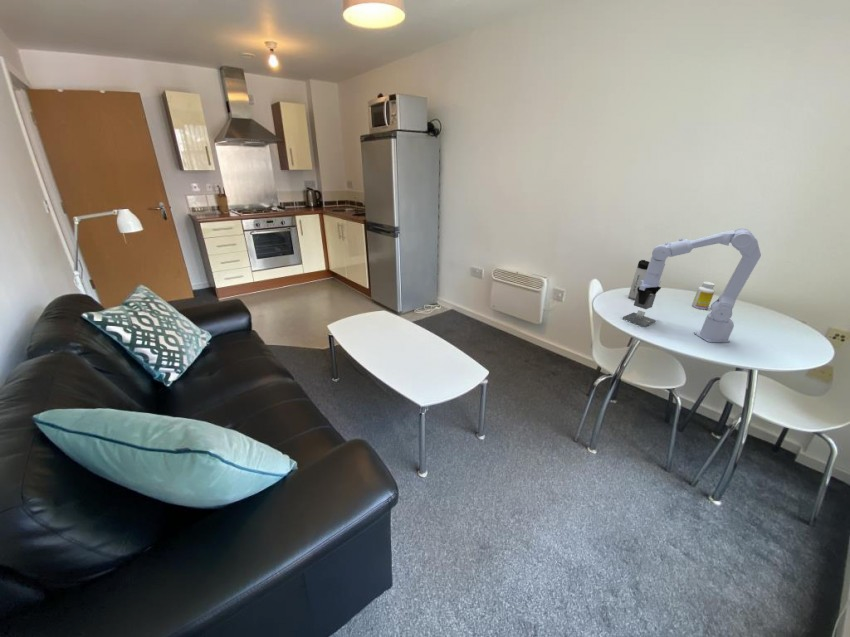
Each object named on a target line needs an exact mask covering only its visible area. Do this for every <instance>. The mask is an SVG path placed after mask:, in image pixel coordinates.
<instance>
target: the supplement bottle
mask: <svg viewBox="0 0 850 637" xmlns="http://www.w3.org/2000/svg"><path fill="white" fill-rule="evenodd" d="M701 284H702V285H701V286H699V287H698V288H697V291H696V294H695V296H694V297H693V302H692V304H691V306H692V307H693V308H696V309H698V310H707V309H709V306H710V304H711V301H712V300H713V296H714V295H715V289H714V287H715V285H716V284H715V283H714V282H710V281H703V282H702V283H701Z"/></svg>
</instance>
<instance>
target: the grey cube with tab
mask: <svg viewBox="0 0 850 637" xmlns="http://www.w3.org/2000/svg"><path fill="white" fill-rule="evenodd" d="M656 296H657V293H656V294H653V293H651V294H650V295H649V296H648V298H647V300H646V302H645V304H644V305H642V304H639V303H638V300H639V295H638V293H637V295H636V299H635V300H634V302H633V307H637V308H640V309H644V310H648V309H651V308H652V307H653V305H654V302H655V299H656Z"/></svg>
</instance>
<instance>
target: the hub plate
mask: <svg viewBox="0 0 850 637" xmlns="http://www.w3.org/2000/svg"><path fill="white" fill-rule="evenodd" d="M645 315H646V312H644V311H643V310H637V312H631V313H629V314H627V315H624V316H622V318H623V319H622V320H624V319H625V320H624V321H626V320H628V321H627V322H629V321H630V323H632V324H634V323H635V325H638V326H640V327H643V328H646V327H648V326H651V325H653V324H654V323H656V321H657V320H656V319H653V318H650V317H647V316H645Z"/></svg>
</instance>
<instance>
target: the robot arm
mask: <svg viewBox="0 0 850 637" xmlns="http://www.w3.org/2000/svg"><path fill="white" fill-rule="evenodd" d="M716 244H717V245H718V244H720V245H722V246H723V245H724V246H727V247H728V246H730V244H731V246H732V247H733V248H734V249H736V250H737V251H739V253H740V255H741V258H740V260H739V262H738V264H737V265H736V267H735V270H733V272H732V275H731V277H730V279H729V280H728V282H727V284H726V285H725V287H724V289H723V291H722V293H721V294H720V295H719V296H718V298H717V299H716V300H715V301H713V302H712V303H711V305H710V311H711V312H709V313H707V314H706V317H705V319H704V322H703V324H702V327H701V329H700V331H697V332H696V331H694V332H693V334H694V335H696V336H698V337H699V338H701V339H703V340H705V341H706V342H708V343H729V342H730V340H729V339H730V336H731V334H732V332H733V330H734V327H735V324H734V321H733V319H732V316H733V308H734V307H735V303H736V300H737V298H738V297H739V296H740V293H741V291H742V290H743V288H744V286H745V285H746V283H747V280H748V279H749V278H750V275H751V274H752V272H753V271H754V268H756V265H757V264H758V262H759V260H760V258H761V255H762V253H761V248H760V247H759V242H758V239H757V238H756V237H755V235H754V234H753V233H752V232H751V231H750V230H749V229H746V228H737V229H735V230H734V229H731V230H726V231H722V232H718V233H715V234H711V235H708V236H707V235H706V236H703V237H701V238H697V239H693V240H690V239H689V238H685V239H684V238H678V240H676V241H672V242H665V243H664V244H658V245H656V246H655V247H654V248H653V249H652V252H651V255H652V256H651V257H650V260H649V261H648V262H649V265H648V268H647V272H646V275H645V278H644V280H641V281H640V282H641V283H642V284H641V285H640V287H638V288H637V291H638V295H639V300H638V303H639V304H642V305H644V304H645V302H646V300H647V298H648V296H649V295H650V294H651V293H653V294H656V295H657V293H658V292H659V291H660V290H661V289H662V286H661V285H660V284H661V282H662V281H661V278H662V275H663V272H664V269H665V266H666V260H667V259H668V258H669V257H670V258H672V257H676V256H681V255H685V254H689V253H691V252H692V250H694V249H698V248H703V247H709V246H713V245H716Z"/></svg>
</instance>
